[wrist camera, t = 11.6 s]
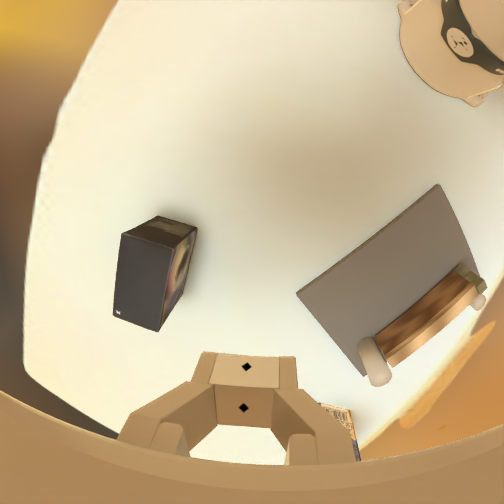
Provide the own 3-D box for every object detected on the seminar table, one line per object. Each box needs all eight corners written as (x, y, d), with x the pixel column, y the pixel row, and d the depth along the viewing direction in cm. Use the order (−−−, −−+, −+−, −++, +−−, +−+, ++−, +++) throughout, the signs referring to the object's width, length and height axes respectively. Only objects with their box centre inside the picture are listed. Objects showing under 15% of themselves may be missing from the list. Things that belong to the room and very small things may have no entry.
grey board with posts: (436, 184, 34) (473, 191, 25) (479, 282, 37) (510, 305, 29) (296, 292, 40) (301, 326, 31) (361, 373, 43) (374, 410, 34)
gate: (380, 343, 40) (393, 369, 33) (373, 335, 39) (387, 361, 33) (463, 271, 35) (487, 288, 29) (459, 262, 35) (483, 278, 29)
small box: (184, 297, 41) (159, 336, 31) (143, 283, 41) (110, 316, 31) (200, 227, 38) (175, 250, 28) (155, 214, 38) (118, 231, 28)
